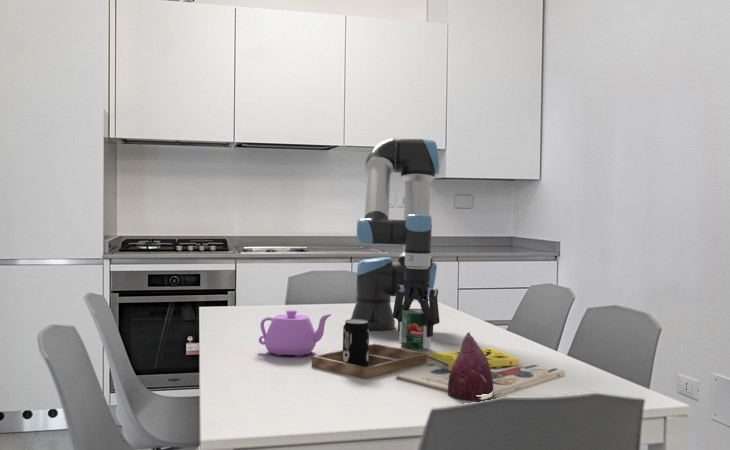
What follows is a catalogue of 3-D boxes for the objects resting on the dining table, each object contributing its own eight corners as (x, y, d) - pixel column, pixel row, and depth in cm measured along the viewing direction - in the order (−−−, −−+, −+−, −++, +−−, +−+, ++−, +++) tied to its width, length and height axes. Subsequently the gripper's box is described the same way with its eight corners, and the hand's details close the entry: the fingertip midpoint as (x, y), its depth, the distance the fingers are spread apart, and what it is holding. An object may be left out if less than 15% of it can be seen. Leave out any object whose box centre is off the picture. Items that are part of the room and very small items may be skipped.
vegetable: (445, 403, 163) (435, 337, 166) (489, 397, 163) (479, 331, 167) (453, 404, 152) (443, 334, 155) (500, 398, 153) (489, 328, 156)
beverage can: (365, 372, 177) (366, 323, 176) (339, 370, 178) (340, 322, 177) (370, 366, 183) (371, 319, 183) (345, 364, 184) (346, 318, 184)
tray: (311, 366, 181) (311, 356, 181) (374, 352, 200) (374, 343, 200) (365, 378, 170) (365, 368, 170) (426, 363, 189) (427, 353, 189)
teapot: (253, 357, 190) (254, 312, 190) (263, 347, 203) (264, 305, 203) (328, 360, 189) (329, 315, 188) (333, 349, 202) (334, 308, 202)
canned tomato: (413, 344, 214) (414, 307, 213) (433, 348, 208) (435, 311, 208) (395, 347, 208) (396, 309, 208) (415, 352, 202) (417, 313, 202)
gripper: (381, 265, 211) (379, 341, 212) (439, 271, 198) (436, 353, 198) (397, 264, 217) (394, 338, 218) (454, 269, 203) (451, 349, 204)
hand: (414, 345), depth 208 cm, fingers closed on canned tomato, 8 cm apart
